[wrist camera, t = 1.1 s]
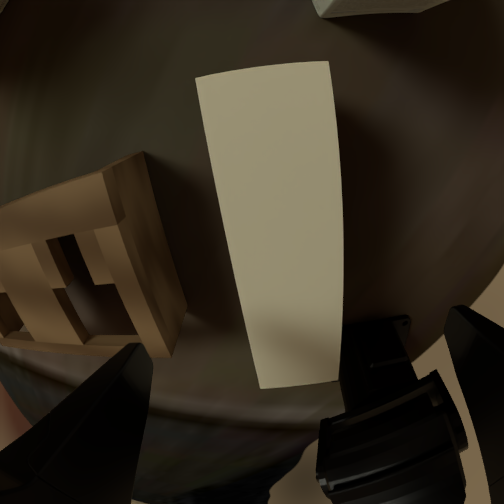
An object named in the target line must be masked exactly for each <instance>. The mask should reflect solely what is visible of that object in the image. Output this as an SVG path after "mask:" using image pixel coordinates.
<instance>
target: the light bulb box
mask: <svg viewBox="0 0 504 504" xmlns="http://www.w3.org/2000/svg"><path fill="white" fill-rule="evenodd" d="M446 1H449V0H312V2H313V4H314V7H315V9H316V11H317V13H318V15H319V16H320V17H321V18H332V17H341V16H350V15H361V14H375V13H420V12H422V11H424V10H427V9H429V8H431V7H434V6H436V5H439V4H441V3H444V2H446Z"/></svg>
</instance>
